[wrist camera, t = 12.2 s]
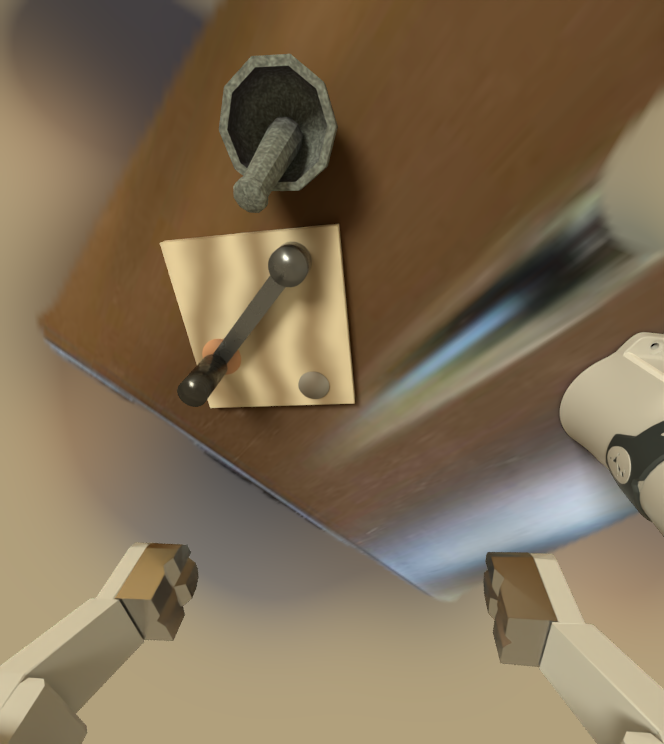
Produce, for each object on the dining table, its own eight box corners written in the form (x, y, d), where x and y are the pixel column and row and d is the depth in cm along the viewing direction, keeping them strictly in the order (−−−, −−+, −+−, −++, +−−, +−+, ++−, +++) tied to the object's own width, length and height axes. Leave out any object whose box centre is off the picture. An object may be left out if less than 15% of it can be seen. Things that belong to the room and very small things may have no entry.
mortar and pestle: (256, 55, 35) (203, 8, 24) (354, 90, 35) (343, 58, 25) (236, 186, 40) (186, 194, 30) (321, 215, 41) (301, 233, 30)
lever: (319, 258, 40) (307, 278, 33) (226, 378, 49) (200, 413, 42) (289, 233, 39) (269, 248, 32) (199, 359, 48) (169, 392, 41)
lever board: (339, 223, 41) (337, 225, 39) (354, 397, 51) (354, 404, 50) (166, 240, 44) (158, 243, 42) (214, 401, 54) (209, 408, 52)
